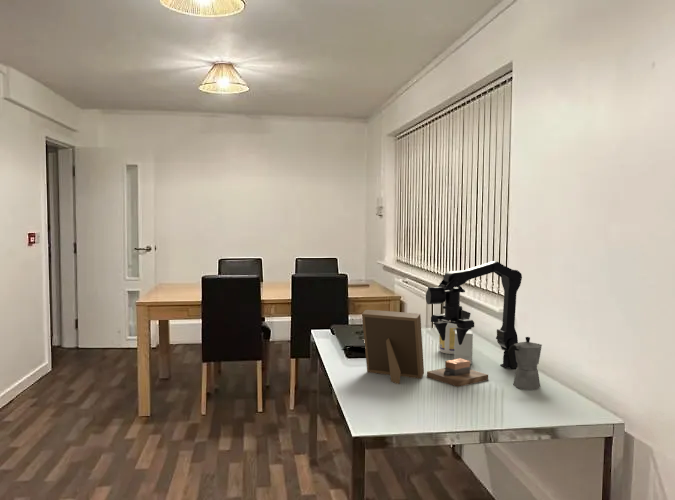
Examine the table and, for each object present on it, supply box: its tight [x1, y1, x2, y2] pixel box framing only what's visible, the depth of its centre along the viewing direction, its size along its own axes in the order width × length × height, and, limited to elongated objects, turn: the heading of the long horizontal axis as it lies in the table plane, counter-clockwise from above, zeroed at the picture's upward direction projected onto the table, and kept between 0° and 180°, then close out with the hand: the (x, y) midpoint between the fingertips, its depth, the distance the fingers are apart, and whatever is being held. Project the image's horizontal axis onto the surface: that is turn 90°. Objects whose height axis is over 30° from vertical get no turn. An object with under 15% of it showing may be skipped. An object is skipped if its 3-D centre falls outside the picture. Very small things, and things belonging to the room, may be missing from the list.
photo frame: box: [361, 309, 425, 385], centre depth 220 cm, size 15×22×25 cm
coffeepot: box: [508, 336, 543, 391], centre depth 208 cm, size 15×9×18 cm, turn 116°
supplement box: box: [453, 330, 474, 365], centre depth 245 cm, size 7×7×13 cm
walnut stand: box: [426, 367, 489, 388], centre depth 219 cm, size 16×16×2 cm
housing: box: [444, 358, 471, 376], centre depth 219 cm, size 5×10×5 cm, turn 124°
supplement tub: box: [438, 313, 462, 355], centre depth 262 cm, size 12×12×17 cm
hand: (451, 342), depth 231 cm, fingers open, 9 cm apart
